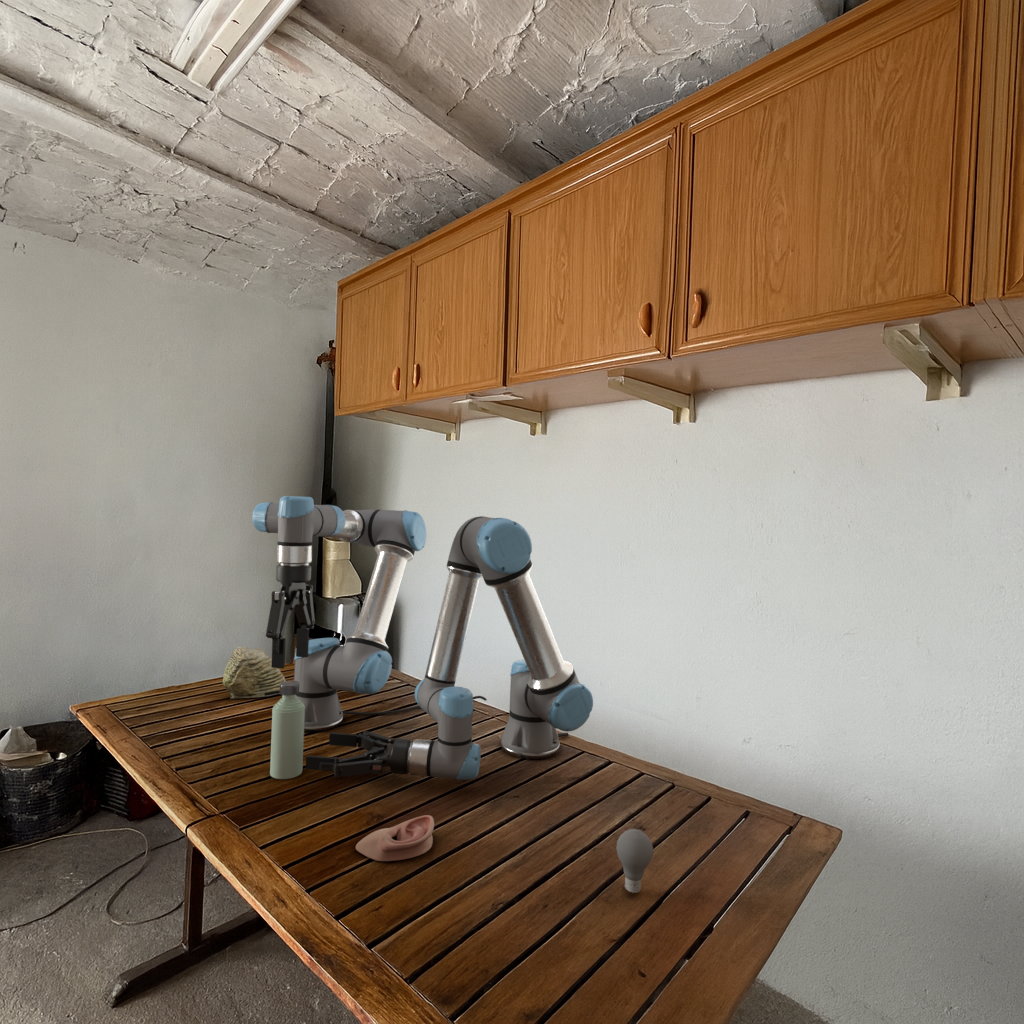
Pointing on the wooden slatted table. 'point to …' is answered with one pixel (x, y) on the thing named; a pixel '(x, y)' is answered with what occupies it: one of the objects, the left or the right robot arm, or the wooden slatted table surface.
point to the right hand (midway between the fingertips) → (318, 749)
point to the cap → (289, 688)
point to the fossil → (251, 674)
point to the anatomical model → (399, 840)
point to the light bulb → (634, 857)
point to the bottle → (287, 738)
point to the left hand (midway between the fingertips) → (290, 661)
